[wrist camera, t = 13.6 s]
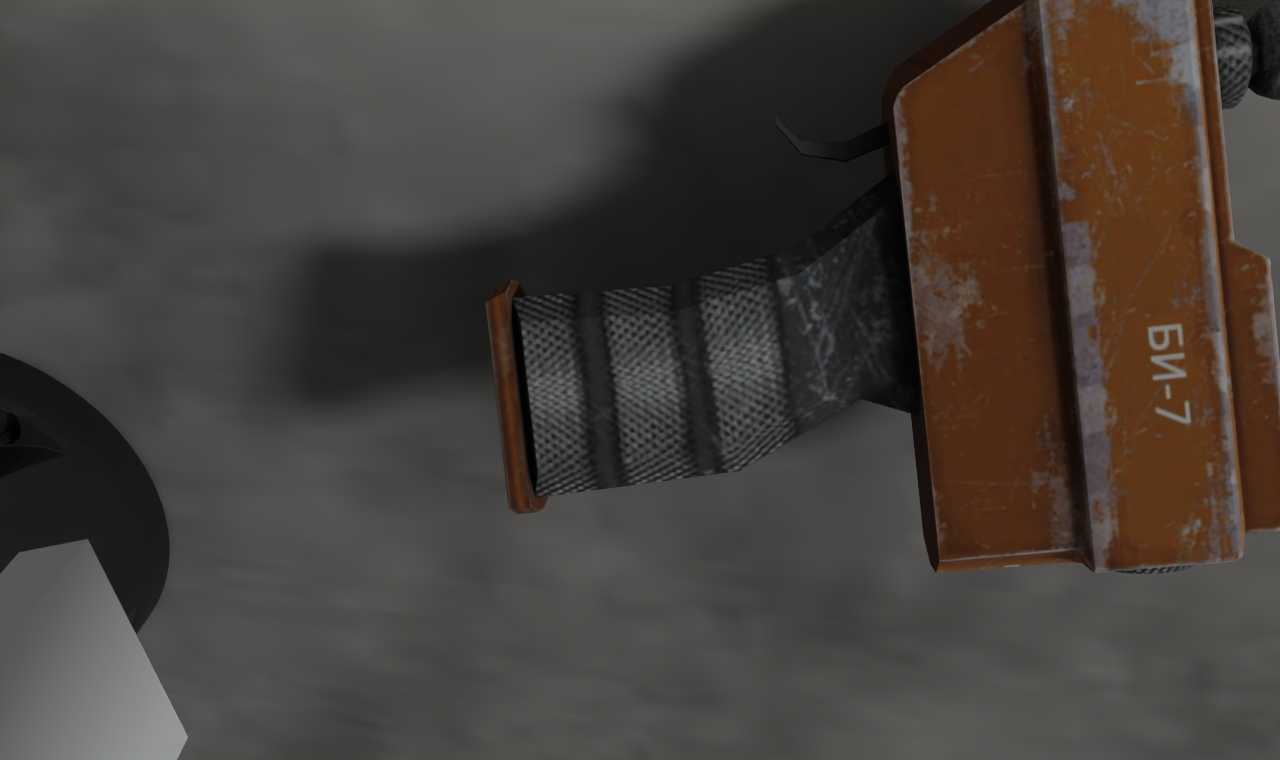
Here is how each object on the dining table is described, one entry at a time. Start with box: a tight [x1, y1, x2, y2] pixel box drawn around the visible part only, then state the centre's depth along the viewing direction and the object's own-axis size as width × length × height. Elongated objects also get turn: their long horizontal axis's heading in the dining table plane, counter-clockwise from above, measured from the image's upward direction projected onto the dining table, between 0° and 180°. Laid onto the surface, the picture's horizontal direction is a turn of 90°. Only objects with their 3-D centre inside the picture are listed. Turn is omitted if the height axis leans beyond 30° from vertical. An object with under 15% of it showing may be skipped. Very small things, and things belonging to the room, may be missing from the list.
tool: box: [485, 0, 1280, 574], centre depth 31 cm, size 4×27×30 cm
